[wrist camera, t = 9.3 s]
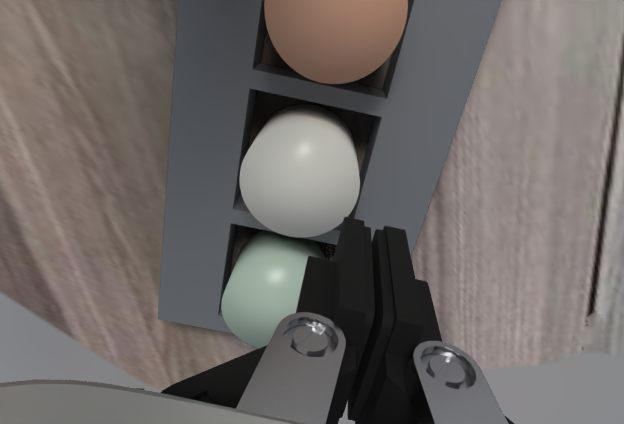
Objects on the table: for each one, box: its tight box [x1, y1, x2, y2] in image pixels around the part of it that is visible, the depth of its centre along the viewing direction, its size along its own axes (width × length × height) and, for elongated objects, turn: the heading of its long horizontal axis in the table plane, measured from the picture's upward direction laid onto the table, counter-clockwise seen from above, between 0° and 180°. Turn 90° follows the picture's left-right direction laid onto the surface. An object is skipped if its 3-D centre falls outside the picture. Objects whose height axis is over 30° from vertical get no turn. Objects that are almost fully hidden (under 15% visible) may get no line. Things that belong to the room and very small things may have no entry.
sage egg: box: [221, 230, 325, 349], centre depth 26 cm, size 6×6×4 cm
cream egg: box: [239, 104, 360, 238], centre depth 22 cm, size 6×6×4 cm
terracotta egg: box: [264, 0, 408, 84], centre depth 19 cm, size 6×6×4 cm
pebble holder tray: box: [158, 0, 502, 334], centre depth 24 cm, size 14×24×2 cm, turn 168°
